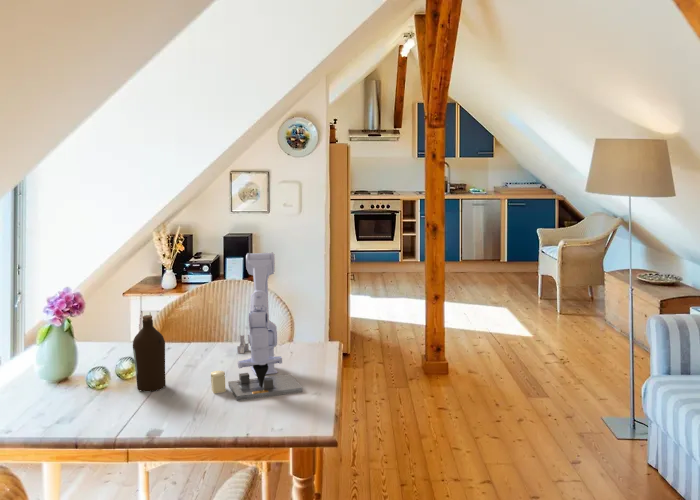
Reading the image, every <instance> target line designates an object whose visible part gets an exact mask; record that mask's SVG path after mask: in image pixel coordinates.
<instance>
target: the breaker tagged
mask: <svg viewBox="0 0 700 500" xmlns="http://www.w3.org/2000/svg"><path fill="white" fill-rule="evenodd" d="M263 388H264V389H270V388H273V379H272V378H264V381H263Z"/></svg>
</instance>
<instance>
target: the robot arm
mask: <svg viewBox="0 0 700 500" xmlns="http://www.w3.org/2000/svg"><path fill="white" fill-rule="evenodd" d="M275 258H276V257H275V254H274V252H260V253H259V252H257V253H253V252H252V253H250V252H247V253H246V255H245V267H246V268H245V269H246V270H247V273H248V275H251V276H253V277H252V278H253V289H254V290H253V292H252V293H251V294H250V303H249V304H250V307H249V308H250V309H249V311H250V312H248V327H249V332H248V333H249V334H248V335H249V346H250V354H251V355H250V357H251V358H247V359H243V360H238V361H237V368H238V369H243V368H248V367H250V369H251V371H253V373H254V375H255V376H256V378H258V381H259V386H260V387H263V381H264V378H265V377H266V375H272V374H278V370H277V369H276V367H275V364H279V365H280V364H283V357H282V356H275V347H277V346H278V331H277V330H278V329H277V325H276V324H275V323H274V322H273V321H271V320H270V313H269V284H268V283H269V282H268V281H269V277H270V276H271V275H274V274H275V270H276V269H275V268H276V267H275V264H276V262H275V260H276V259H275Z"/></svg>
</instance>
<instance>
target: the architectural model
mask: <svg viewBox="0 0 700 500" xmlns="http://www.w3.org/2000/svg"><path fill="white" fill-rule="evenodd" d="M239 337H240V338H239V339H240V340H239V343H240V344H239V345H237V348H236V349H237V354H245V351H246V352H247V351H249V350H250V349H249V346H250V343H249V334H248V335H247V339H248V340H247V341H248V343H247V342H246V339H245V334H242V335H241V334H240V335H239Z"/></svg>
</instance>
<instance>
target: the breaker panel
mask: <svg viewBox="0 0 700 500" xmlns="http://www.w3.org/2000/svg"><path fill="white" fill-rule="evenodd" d="M265 378H272V379H273V388H270V389H264V388H263V387H260V386H259V381H258V378H257V377H256V378H250V383H244V384H241V383H240V382H239V380H232V381H231V380H230V381H228V383H227V384H228V388H229V389H230V391H231V392H232V394H233V396H234V398H235V400H236V401H244V400H250V399H259V398H265V397H267V398H269V397H273V396H280V395H281V396H282V395H289V394H295V393H296V394H298V393H302V392H303V387H302V385H301V384H300V383H299V381H298V380H296V378H295V377H294V376H293V375H292V374H291V373H289V374H280V375H272V376H271V375H270V376H265Z"/></svg>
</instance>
